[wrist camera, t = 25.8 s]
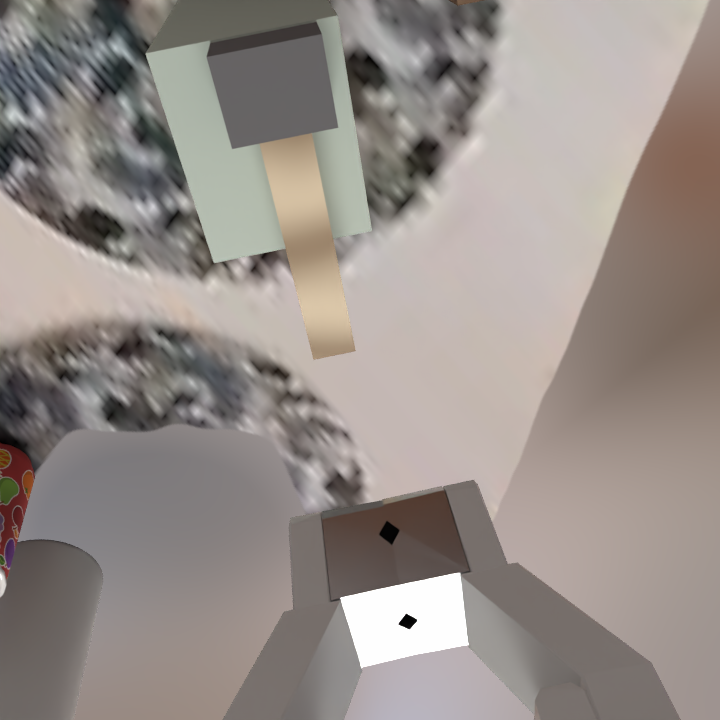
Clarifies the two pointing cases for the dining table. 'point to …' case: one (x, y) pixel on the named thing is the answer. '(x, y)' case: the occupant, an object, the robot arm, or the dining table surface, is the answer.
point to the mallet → (290, 158)
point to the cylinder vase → (46, 629)
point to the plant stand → (463, 1)
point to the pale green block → (246, 165)
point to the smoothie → (12, 503)
